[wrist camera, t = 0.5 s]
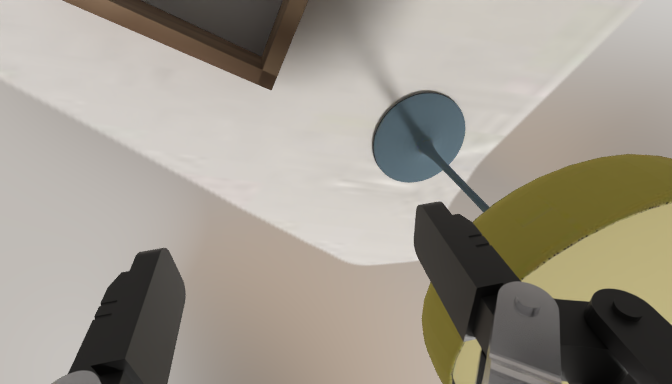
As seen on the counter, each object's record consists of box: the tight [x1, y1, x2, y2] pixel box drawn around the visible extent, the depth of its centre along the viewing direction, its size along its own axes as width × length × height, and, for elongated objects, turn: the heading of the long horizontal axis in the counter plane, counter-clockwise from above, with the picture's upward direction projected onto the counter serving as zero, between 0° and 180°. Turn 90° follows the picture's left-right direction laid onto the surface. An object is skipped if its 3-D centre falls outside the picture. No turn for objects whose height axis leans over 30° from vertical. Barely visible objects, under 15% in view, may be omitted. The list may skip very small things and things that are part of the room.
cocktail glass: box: [374, 93, 672, 384], centre depth 29 cm, size 18×18×25 cm
